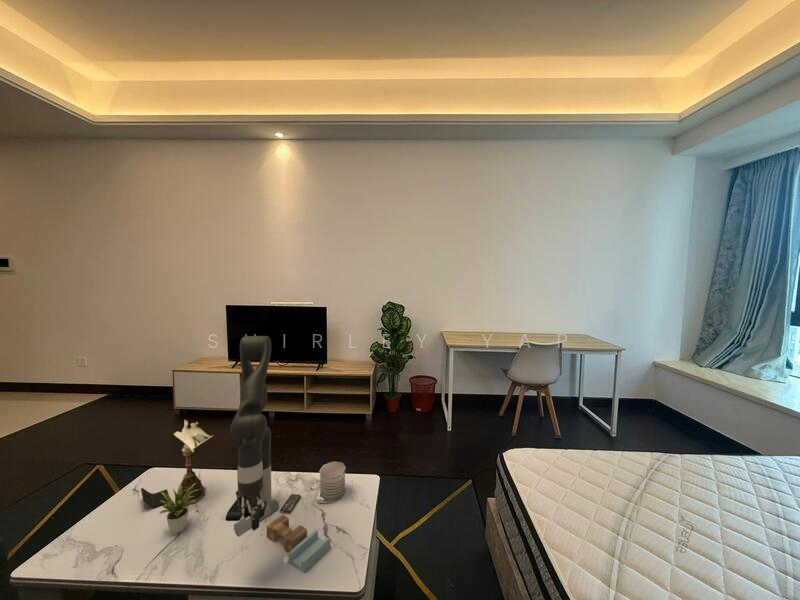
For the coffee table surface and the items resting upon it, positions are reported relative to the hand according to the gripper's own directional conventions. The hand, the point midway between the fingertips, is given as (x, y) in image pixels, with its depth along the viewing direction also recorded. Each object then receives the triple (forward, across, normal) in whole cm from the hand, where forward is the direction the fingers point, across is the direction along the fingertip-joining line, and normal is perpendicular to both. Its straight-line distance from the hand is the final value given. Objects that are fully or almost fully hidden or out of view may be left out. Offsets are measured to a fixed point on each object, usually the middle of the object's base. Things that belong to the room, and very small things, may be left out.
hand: (251, 525), depth 107 cm
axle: (-2, 0, -2) cm, 3 cm away
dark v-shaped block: (+16, +66, +3) cm, 68 cm away
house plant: (+15, +39, +5) cm, 42 cm away
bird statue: (+16, +54, -8) cm, 57 cm away
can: (+15, +5, -42) cm, 45 cm away
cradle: (+15, -11, -15) cm, 24 cm away
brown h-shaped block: (+15, +1, -14) cm, 21 cm away
